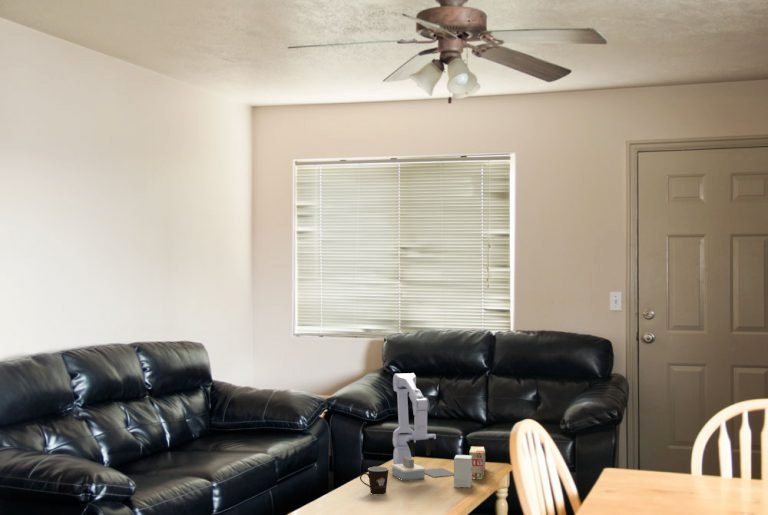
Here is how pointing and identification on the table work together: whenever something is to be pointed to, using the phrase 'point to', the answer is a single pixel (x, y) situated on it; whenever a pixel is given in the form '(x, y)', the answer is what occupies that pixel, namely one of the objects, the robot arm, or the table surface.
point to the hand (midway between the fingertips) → (420, 456)
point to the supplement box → (462, 471)
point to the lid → (408, 465)
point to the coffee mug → (377, 479)
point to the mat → (438, 472)
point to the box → (408, 475)
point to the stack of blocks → (477, 461)
